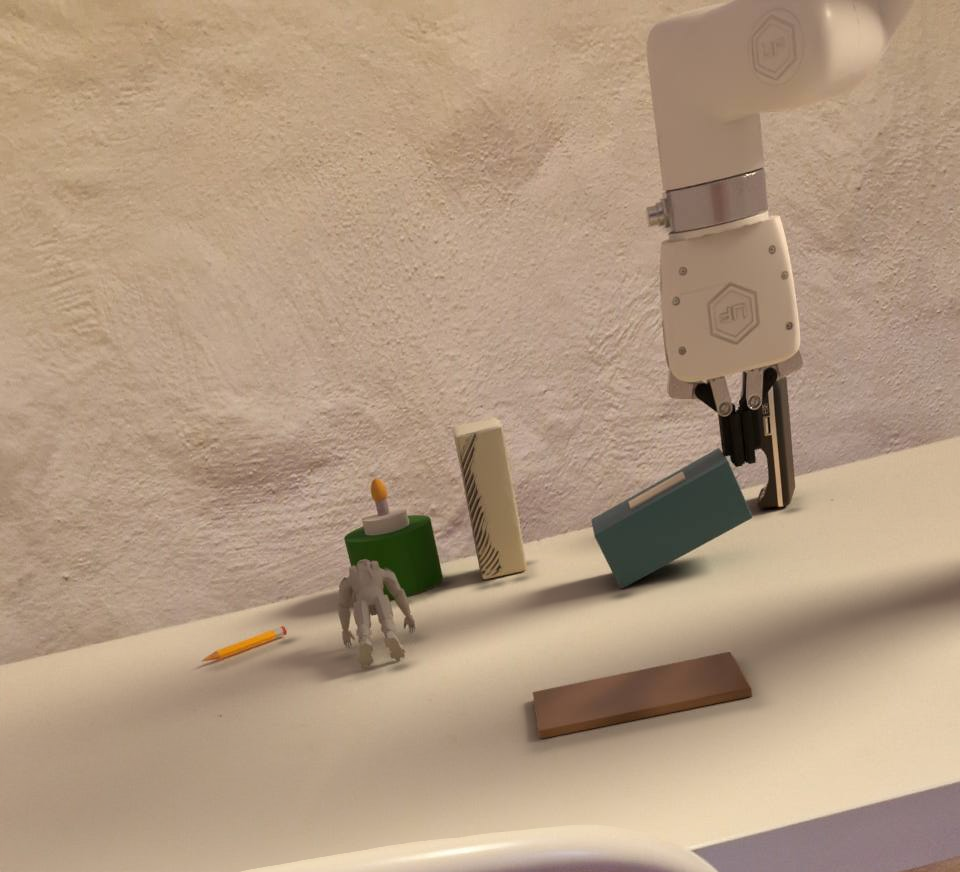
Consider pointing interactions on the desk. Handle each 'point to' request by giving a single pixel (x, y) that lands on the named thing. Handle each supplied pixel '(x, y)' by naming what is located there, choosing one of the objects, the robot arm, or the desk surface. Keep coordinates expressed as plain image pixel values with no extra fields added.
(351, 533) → the candle
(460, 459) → the box
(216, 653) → the pencil
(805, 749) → the desk surface
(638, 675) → the brown wooden plank
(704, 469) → the tissue box
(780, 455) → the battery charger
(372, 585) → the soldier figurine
